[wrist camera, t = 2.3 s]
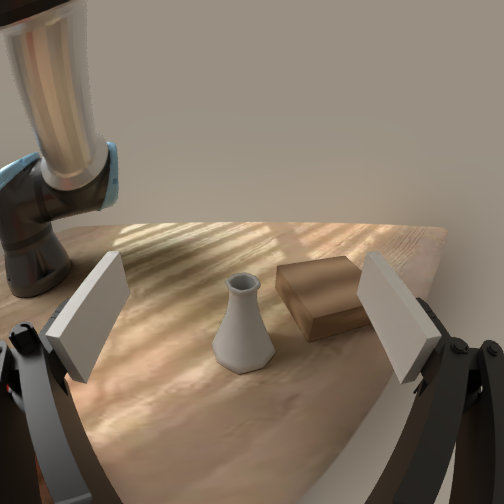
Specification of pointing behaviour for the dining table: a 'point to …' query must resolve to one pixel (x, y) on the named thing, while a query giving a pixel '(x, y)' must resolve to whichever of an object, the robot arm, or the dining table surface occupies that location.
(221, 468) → the dining table surface
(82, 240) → the dining table surface
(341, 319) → the plinth
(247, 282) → the flask
